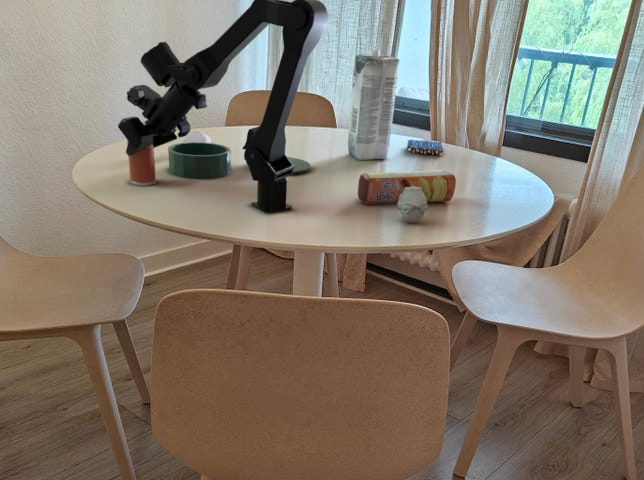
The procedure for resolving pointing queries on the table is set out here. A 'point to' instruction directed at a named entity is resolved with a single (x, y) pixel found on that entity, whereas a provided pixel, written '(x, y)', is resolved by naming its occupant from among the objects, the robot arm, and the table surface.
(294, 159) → the pot lid
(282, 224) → the table surface
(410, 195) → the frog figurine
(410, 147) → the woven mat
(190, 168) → the pot
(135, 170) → the tin can
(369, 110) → the juice carton
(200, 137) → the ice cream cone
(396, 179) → the snack package
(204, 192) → the table surface
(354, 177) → the table surface
